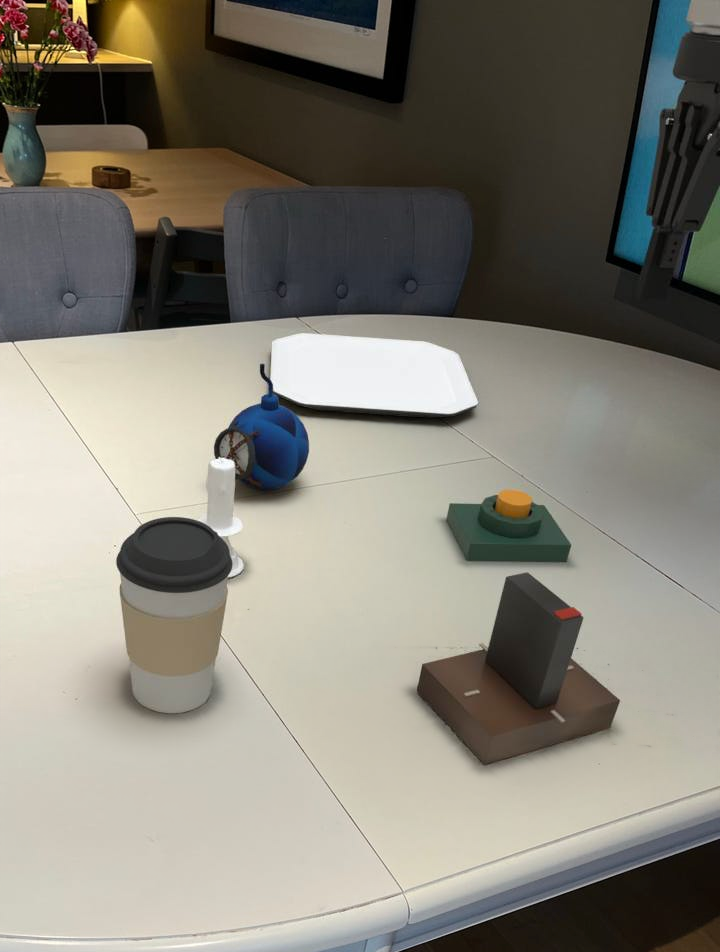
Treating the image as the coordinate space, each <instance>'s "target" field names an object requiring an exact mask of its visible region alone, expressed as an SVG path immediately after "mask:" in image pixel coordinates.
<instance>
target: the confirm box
mask: <svg viewBox="0 0 720 952" xmlns="http://www.w3.org/2000/svg"><path fill="white" fill-rule="evenodd" d="M497 497H498V494H494V495H491V496H487V497H485V498H484V499H483V501H482V502H481V503H456V502H454V503H452V502H451V503H450V502H449V504H448V509H447V514H446V520H445V521H446V523H447V525H448V526H449V529H450V530H451V532H452V535H453V537H454V538H455V540H456V543H457V544H458V547H459V549H460V550H461V553H462V555H463V556H464V559H465V560H466V561H467V562H513V563H514V562H515V563H516V562H518V563H520V562H521V563H523V562H524V563H525V562H526V563H567V562H568V559H569V555H570V550H571V548H572V543H571V542H570V540H569V539H568V538H567V536H566V535H565V533H564V532H563V530H562V529H561V527H560V526H559V524H558V523H557V521H556V520H555V519H554V517H553V516H552V514H551V513H550V511H549V510H548V509H547V507H546V505H544V504H538V503H535V502H534V501H532V504H531V508H530V511H529V515H528V517H525V518H511V517H508V516H504V515H501V514H500V513H498V512H496V511H495V506H496V502H497Z"/></svg>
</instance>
